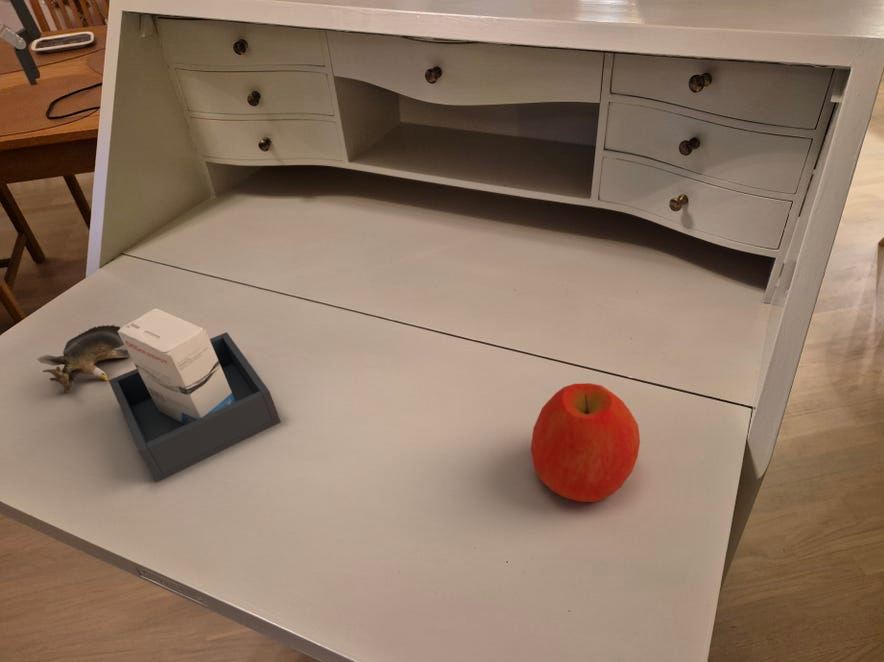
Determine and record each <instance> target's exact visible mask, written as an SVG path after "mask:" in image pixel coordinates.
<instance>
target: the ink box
mask: <svg viewBox="0 0 884 662" xmlns="http://www.w3.org/2000/svg"><path fill="white" fill-rule="evenodd" d="M117 332H118V334H119V336H120V338H121V339H122V341H123V343H124V345H123V346H124V348H125V350H127V351H128V353H129V354H130V355H129V357H130V358H131V360H132V362H133V365H134V367H135V369H137V370H138V372H139V373H140V375H141V377H142V379H143V381H144V383H145V385H146V387H147V389H148V391H149V393H150V395H151V397H152V399H153V401H154V403H155V405H156V407H157V408H158V410H159V412H161V413H163V414H165V415H167V416H169V417H171V418H173V419H175V420H177V421H179V422H181V423H183V424H185V425H187V424H189V423H191V422H193V421H195V420H197V419H200V418H202V417H204V416H206V415H208V414H211V413H213V412H215V411H217V410H219V409H221V408H224V407H226V406H228V405H230V404H232V403H235V402H236V401H235V399H234V396H233V394H232V392H231V389H230V387H229V385H228V382H227V380H226V377H225V375H224V372H223V370H222V368H221V365H220V363H219V361H218V358H217V356H216V354H215V351H214V349H213V346H212V344H211V342H210V339H211V338H210V337H209V335H208V332H207V330H206V329H205V328H203V327H200V326H199V325H196V324H194V323H192V322H189V321H187V320H185V319H182V318H179V317H178V316H175V315H173V314H171V313H168V312H166V311H163V310H161V309H159V308H157V307H155V308H153V309H151V310H149V311H147V312H146V313H144V314H142V315H141V316H139V317H137V318H136V319H134V320H132V321H130V322H128V323H126V324H125V325H123V326H122V327H121V326H120V329H119V330H118V331H117Z"/></svg>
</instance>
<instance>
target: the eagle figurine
mask: <svg viewBox="0 0 884 662" xmlns="http://www.w3.org/2000/svg"><path fill="white" fill-rule="evenodd" d="M120 328H121V326H119V325H117V326H116V325H115V324H112V325H109V324H107V325H98V326H94V327H92V328H88V330H86V331H84V332H81V333H79V334H78V335H76V336H74V337H73V338H71V339H69V340H68V341H67V342H66V344H65V347H64V349H63V351H62V355H58V356H55V355H50V354H44V355H40V356H39V357H37V358H36V361H38V362H39V363H41V364H44V365H50V366H55V367H56V368H51V369H44V370H42V372H43V373H50V374H51V375H53V376H54V377H50V378H49V380H50V381H51V382H56V383H59V384H60V385H61V386H62V387H63V390H64V392H65V393H67V394H68V393H69V392H70V391H71V389H72V387H73V385H74V384H73V383H74V380H75V378H76V377H77V375H78V374H79V373H81V374H85V375H90V376H94V377H97V378H100V379H102V380H104V381H105V382H109V378H108V376H107V374H106V373H105V372H104V371H103V370H102V369H100V368H99V367H98V366H96V365H95V364H96V363H98V362H100V361H104V360H111V359H123V358H130V354H129V353H128V351H127V349H120V348H121V347H123V346H125V345H124V343H123V341H122V339H121V338H120V336H119V334H118V332H117V331H118V330H119V329H120ZM61 365H62V366H63V368H60V366H61Z"/></svg>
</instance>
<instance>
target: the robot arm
mask: <svg viewBox="0 0 884 662" xmlns="http://www.w3.org/2000/svg"><path fill="white" fill-rule="evenodd" d="M1 1H2V2H4V3H10V4H11V7H12V9H13V10H14V12H15V14H16V16H17V17H18V20H19V21H20V23H21V25H22V27H23V28H21V29H19V30H18V31H15V30H14V29H12V28H11V27H10V26H8V25H6V24H4V23H3V22H2V21H1V20H0V39H2V40H4V41H5V42H6V43H8V44H10V45H11V46H13V47H12V50H13V53H14V54H15V57H16V59H17V61H18V62H19V65H20V67H21V69H22V71H23V73H24V75H25V77H26V79H27V81H28V83H29V85H30V86H31V87H32V86H37V85H39V83H38V81H37V80H39V79H41V72H40V70H39V68H38V66H37V64H36V61H35V60H34V57H33V55H32V53H31V51H30V44H32V43H33V42H34V41H36V40H40V39H41V38H42V32H41V30H40V29H39V26H38V25H37V23H36V21H35V19H34V17H33V15H32V13H31V11H30V9H29V8H28V5H27V4H26V1H25V0H1Z"/></svg>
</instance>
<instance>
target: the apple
mask: <svg viewBox="0 0 884 662" xmlns="http://www.w3.org/2000/svg"><path fill="white" fill-rule="evenodd" d="M640 445H641V437H640V429H639V424H638V423H637V420H636V419H635V417H634V415H633V413H632V412H631V410H630V409H629V408H628V406H627V405H626V404H625V402H624V401H623V400H622V399H621V398H620V397H619V396H618V395H616V394H615V393H613V392H611V391H610V390H609V389H608V388H606V387H604V385H601V384H596V383H592V382H591V383H590V382H587V383H585V382H584V383H573V384H569V385H566V386H563V387H562V388H560V389H559V390H558V391H556V392H555V393H554V394H553V396H551V397H550V399H548V401H546V403H545V404H544V405H543V406H542V407H541V410H540V411H539V414H538V416H537V419H536V421H535V423H534V425H533V429H532V436H531V443H530V452H531V459H532V463H533V468H534V471H535V472H536V475H537V476H538V478H539V480H540V481H541V482H542V483H543V484H544V485H546V487H547V488H549V489H550V491H552V492H554V493H555V494H557V495H559V496H561V497H562V498H566V499H569V500H573V501H576V502H580V503H588V502H592V503H594V502H595V503H596V502H599V501H601V500H603V499H605V498H608V497H609V496H612V495H613V494H614V493H616V492H617V491H619V490H620V489H621V488H622V487H623V486H624V484H625V483H626V481H627V480H628V478H629V477H630V475H631V473H633V470H634V468H635V465H636V462H637V460H638V457H639V451H640Z"/></svg>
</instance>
